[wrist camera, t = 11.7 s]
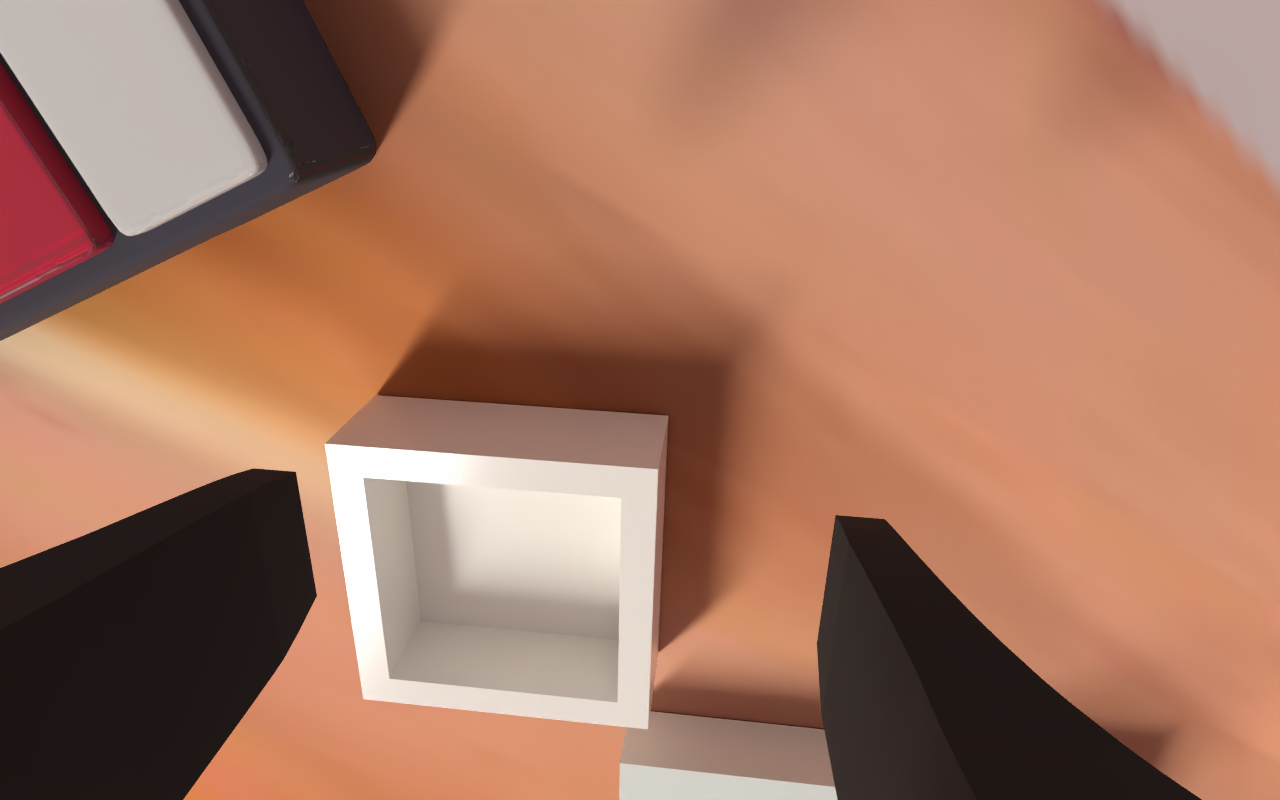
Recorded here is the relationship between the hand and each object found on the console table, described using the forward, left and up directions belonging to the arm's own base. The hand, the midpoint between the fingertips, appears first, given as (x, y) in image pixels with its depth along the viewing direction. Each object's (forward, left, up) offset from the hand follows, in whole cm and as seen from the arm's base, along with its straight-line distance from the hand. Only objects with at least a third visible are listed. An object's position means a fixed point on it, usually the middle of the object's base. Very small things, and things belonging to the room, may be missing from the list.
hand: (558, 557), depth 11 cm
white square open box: (+3, +6, -9) cm, 12 cm away
